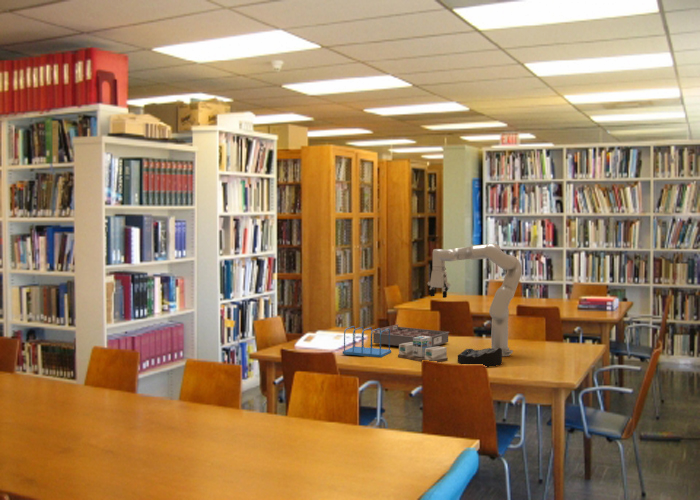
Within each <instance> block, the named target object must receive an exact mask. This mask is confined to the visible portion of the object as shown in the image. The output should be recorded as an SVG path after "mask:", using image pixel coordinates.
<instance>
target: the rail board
mask: <svg viewBox="0 0 700 500" xmlns="http://www.w3.org/2000/svg"><path fill="white" fill-rule="evenodd" d="M447 348H448V347H446V346H445V347H444V346H441V345H437V346H434V347H432V348H426V349H425V357H417V356H413V342H409V343H403V344H399V346H398V354H397V358H401V359H407V360H412V361H417V362H421V361H422V360H429V361H437V363H442V362H446V361H448V360H449V358H448V357H447V356H448V355H447V351H448V349H447Z"/></svg>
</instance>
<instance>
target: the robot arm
mask: <svg viewBox="0 0 700 500" xmlns="http://www.w3.org/2000/svg"><path fill="white" fill-rule="evenodd" d="M485 259H486V260H487V259H489V260H490V261H491V262H492V263H494V264H495V265H497V267H499V268H501V269H503V270H504V271H506V274H505V276H504V278H503V282H502V283H501V284H502V285H501V286H499V287H498V288H497V289H496V292H495V294H494V296H493V299H492V301H491V304H490V306H489V310H488V311H489V316H490V317H491V345H490V346H491V349H493V348H494V349H497V348H501V349H502V357H509V356H510V355H511V354H513V353H514V351H513V349H510V347H509V317H510V316H509V315H510V312H509V311H510V309H509V305H510V303H511V300H513V298H514V297H515V293H516V291H517V287H518V285H519V283H520V279H521V277H522V272H523V271H522V270H523V267H522V264H521V262H520V261H519V259H518V258H517V257H516V256H515V255H512V254H507V253H505V252H504V251H502V249H501V247H500V246H499V244H497V243H485V244H477V245H470V246H466V247H465V246H464V247H457V248H448V249H444V248H434V249H433V250H432V270H431V274H430V280H428V282H427V284H426V285H428V286H427V287H428V288H429V291H430V295H429V297H430V298H431V297H435V294H436V293H435V288H437V289H439V288H440V289H442V298H443V299H446V298H447V297H448V291H449V289H450V287H451V284H450V283H449V282H448V276H447V272H446V270H447V268H446V262H455V261H463V260H472V261H473V260H474V261H475V260H476V261H477V260H485Z"/></svg>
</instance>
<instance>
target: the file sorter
mask: <svg viewBox="0 0 700 500" xmlns="http://www.w3.org/2000/svg"><path fill="white" fill-rule="evenodd" d="M351 328H353V331H352V346H351V347H349V348H347V349H346V332H347V330H349V329H351ZM359 329H362V331H361V346H356V331H357V330H359ZM378 329H380V327H378V328H376V329H375V328H374V329H373V327H367V328H364V327H363V326H360V327H357V328H356V326H355V325H352V326H350V327H349V326H348V327H347V328H345V329H344V332H343V350H342V355H347V356H348V355H351V356H363V357H371V358H373V357H374V358H383V357H385V356H387V355H389V354H390V353H392V349H391V348H390V347H391V345H390V330H389V329H386V330H389V345H388V348H386V349H384V348H382V344H381V333H382V332H384V331H386V330H384V331H381V329H380V344H379V348H375V347H373V332H375V330H378ZM367 330H371V331H370V347H366V346H364V345H365V335H364V334H365V331H367Z"/></svg>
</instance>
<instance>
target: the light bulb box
mask: <svg viewBox="0 0 700 500" xmlns="http://www.w3.org/2000/svg"><path fill="white" fill-rule="evenodd" d="M426 348H432V337H429V336H419V337H414V338H413V356H417V357H425V349H426Z"/></svg>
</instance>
